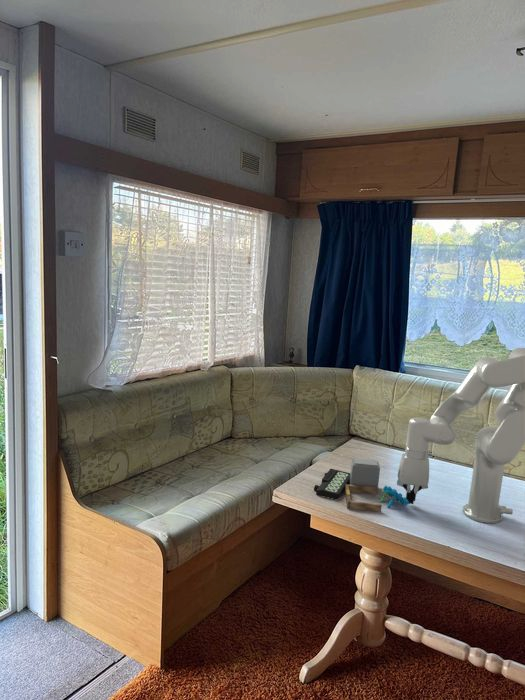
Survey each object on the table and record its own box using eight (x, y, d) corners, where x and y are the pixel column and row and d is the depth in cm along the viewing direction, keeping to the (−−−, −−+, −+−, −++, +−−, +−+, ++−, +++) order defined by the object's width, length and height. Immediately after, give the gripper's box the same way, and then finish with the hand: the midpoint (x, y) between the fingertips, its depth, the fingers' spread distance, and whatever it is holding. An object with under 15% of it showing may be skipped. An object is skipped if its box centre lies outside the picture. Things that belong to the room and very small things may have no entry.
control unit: (375, 485, 199) (378, 459, 197) (377, 493, 192) (380, 466, 190) (349, 482, 200) (351, 456, 198) (350, 490, 193) (352, 463, 191)
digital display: (328, 466, 207) (352, 472, 203) (327, 474, 208) (351, 480, 204) (312, 486, 188) (338, 493, 184) (311, 494, 188) (337, 501, 185)
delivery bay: (376, 493, 192) (376, 486, 191) (380, 512, 178) (381, 504, 177) (344, 490, 193) (345, 483, 192) (347, 508, 179) (347, 500, 178)
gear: (415, 505, 180) (400, 488, 177) (406, 519, 179) (390, 502, 175) (393, 496, 190) (378, 480, 186) (384, 509, 188) (369, 493, 185)
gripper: (435, 451, 183) (429, 499, 186) (393, 447, 185) (387, 495, 188) (440, 459, 176) (433, 509, 179) (396, 454, 177) (390, 504, 180)
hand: (410, 502), depth 183 cm, fingers closed
